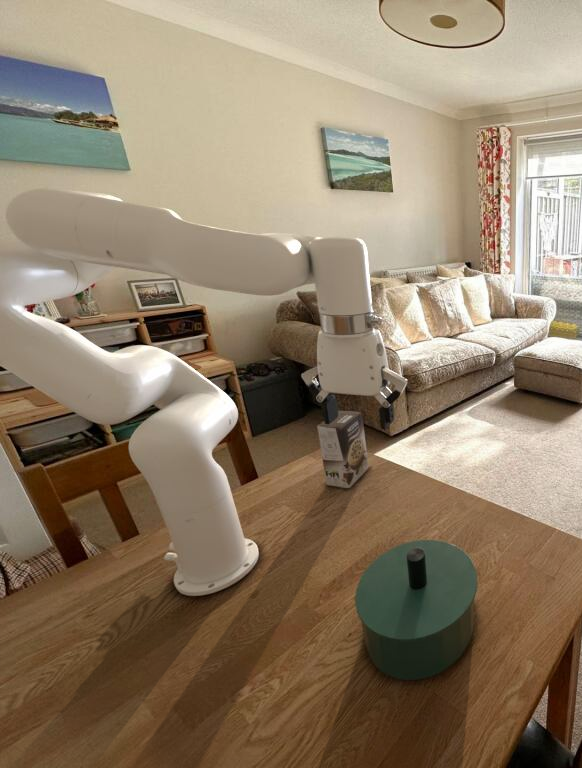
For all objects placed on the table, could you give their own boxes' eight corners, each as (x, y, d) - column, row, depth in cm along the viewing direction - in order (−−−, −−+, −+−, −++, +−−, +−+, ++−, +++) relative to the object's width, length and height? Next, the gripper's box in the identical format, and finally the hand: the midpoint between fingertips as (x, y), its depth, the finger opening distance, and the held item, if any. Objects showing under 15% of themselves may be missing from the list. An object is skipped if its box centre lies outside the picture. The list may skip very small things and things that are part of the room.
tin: (346, 674, 57) (337, 632, 54) (390, 577, 72) (386, 540, 69) (461, 687, 56) (460, 645, 52) (481, 586, 71) (481, 548, 68)
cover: (332, 638, 53) (325, 601, 51) (384, 540, 70) (380, 509, 67) (464, 652, 52) (463, 615, 50) (485, 549, 69) (485, 518, 66)
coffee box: (350, 489, 96) (340, 429, 90) (325, 485, 97) (315, 425, 91) (370, 468, 104) (362, 411, 98) (347, 464, 105) (339, 409, 99)
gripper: (411, 321, 64) (416, 417, 70) (308, 314, 66) (322, 409, 72) (392, 332, 57) (400, 438, 63) (278, 324, 59) (297, 429, 65)
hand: (359, 423), depth 68 cm, fingers open, 9 cm apart
